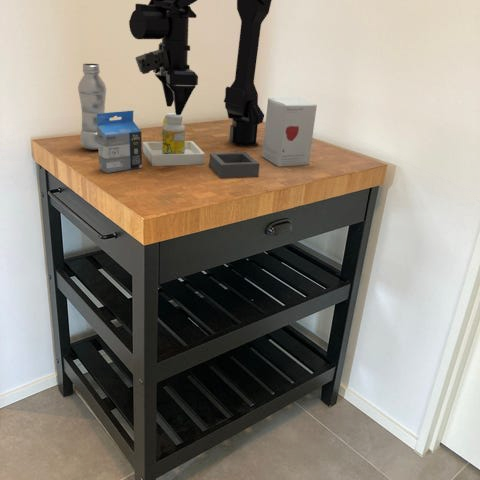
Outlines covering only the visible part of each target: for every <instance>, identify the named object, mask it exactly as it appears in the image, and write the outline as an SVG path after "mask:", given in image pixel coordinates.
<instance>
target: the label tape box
mask: <svg viewBox="0 0 480 480" xmlns="http://www.w3.org/2000/svg"><path fill="white" fill-rule="evenodd" d="M115 117H117V118H121V119H114V120H113V119H112V118H115ZM110 119H112V120H110ZM97 136H98V164H99V165H98V166H99V170H100V171H102V172H104V173H107V174H109V173H115V172H116V173H117V172H122V171H128V170H133V169H139V168H143V142H142V131H141V130H140V128H139V127H138V125H137V124H136V123H135V122H134V110H122V111H113V112H112V111H111V112H105V113H98V114H97Z"/></svg>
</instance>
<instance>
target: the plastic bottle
mask: <svg viewBox="0 0 480 480" xmlns="http://www.w3.org/2000/svg"><path fill="white" fill-rule="evenodd" d="M82 73H83V75H82V78H80V81H79V82H78V87H77V89H78V95H79V96H78V97H79V100H80V108H81V131H80V143H81V145H82V147H83V148H84V149H85V150H86V149H87V150H92V151H96V150H98V136H97V114H98V113H106V112H105V111H106V110H105V108H106V105H105V104H106V96H107V87H106V83H105V82H104V80H103V79H102V77H101V76H100V75H99V74H101V72H100V64H99V63H91V62H90V63H88V62H87V63H82Z"/></svg>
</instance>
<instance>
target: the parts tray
mask: <svg viewBox="0 0 480 480" xmlns="http://www.w3.org/2000/svg"><path fill="white" fill-rule="evenodd" d="M162 143H163V142H162V141H143V142H142V154H144V156H145V158H146V159H147V160H148V162H149V163H150V165H151V167H163V166H167V167H168V166H190V165H191V166H192V165H206V164H205V163H206V153H205V152H204V151H203V150H202V149H201V148H200V147H199V146H198V145H197V144H196V143H195V142H194V141H193V140H185V154H162Z"/></svg>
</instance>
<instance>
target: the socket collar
mask: <svg viewBox="0 0 480 480" xmlns="http://www.w3.org/2000/svg"><path fill="white" fill-rule="evenodd" d="M208 160H209V161H208V162H209V163H208V166H209V167H210V168H211V169H212V170H213V172H214V173H216V175H217V176H218V177H219V178H220V179H228V178H247V177H249V178H252V177H259V172H260V163H259V162H258V160H256V159H255V158H254V157H252V156H251V155H250V154H249V153H247V152H246V151H245V152H243V151H239V152H211V153H210V152H209V159H208Z"/></svg>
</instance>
